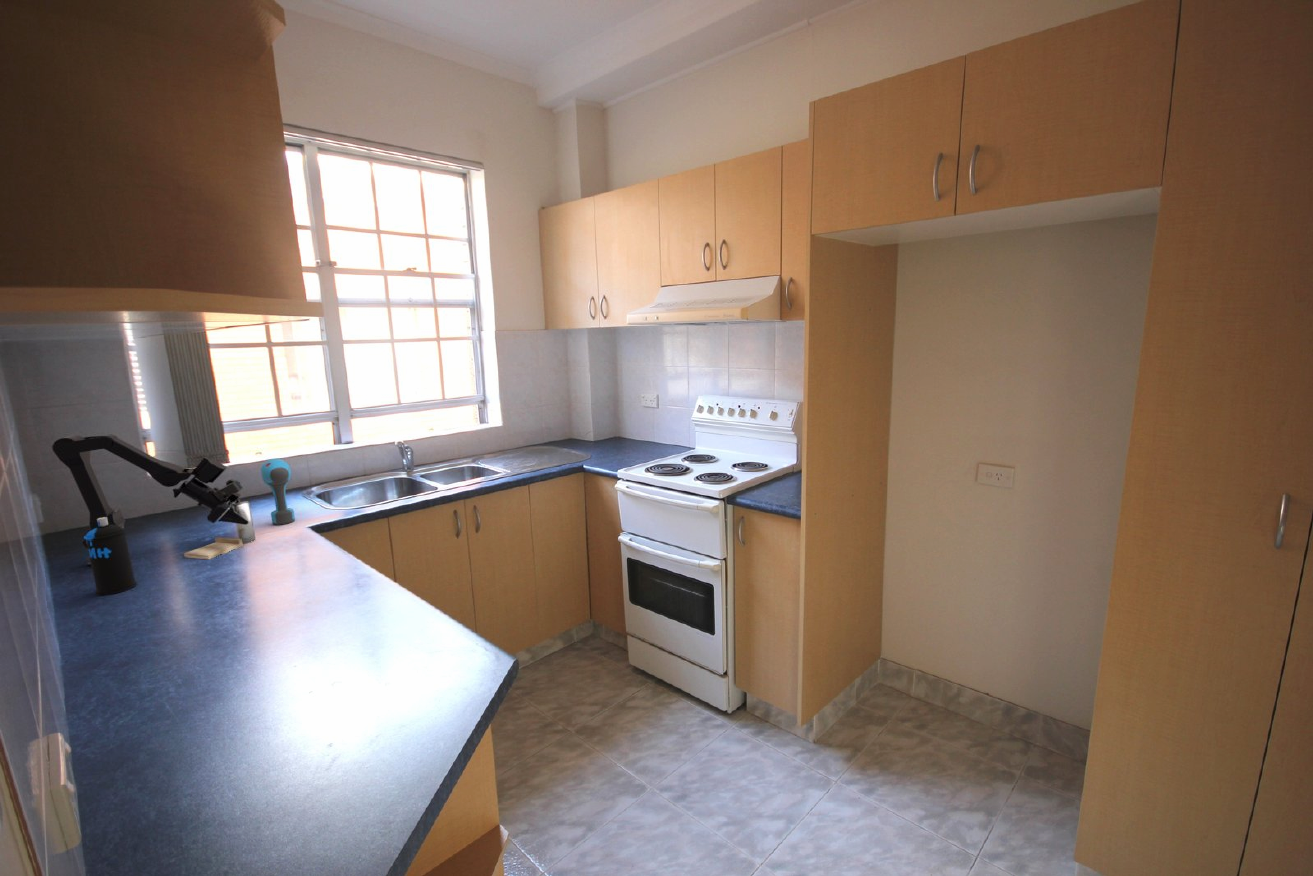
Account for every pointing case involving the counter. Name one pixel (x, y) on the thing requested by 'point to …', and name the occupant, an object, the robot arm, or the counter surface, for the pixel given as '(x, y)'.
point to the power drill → (278, 489)
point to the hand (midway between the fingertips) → (249, 521)
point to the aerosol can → (110, 558)
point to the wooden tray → (215, 548)
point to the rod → (243, 530)
